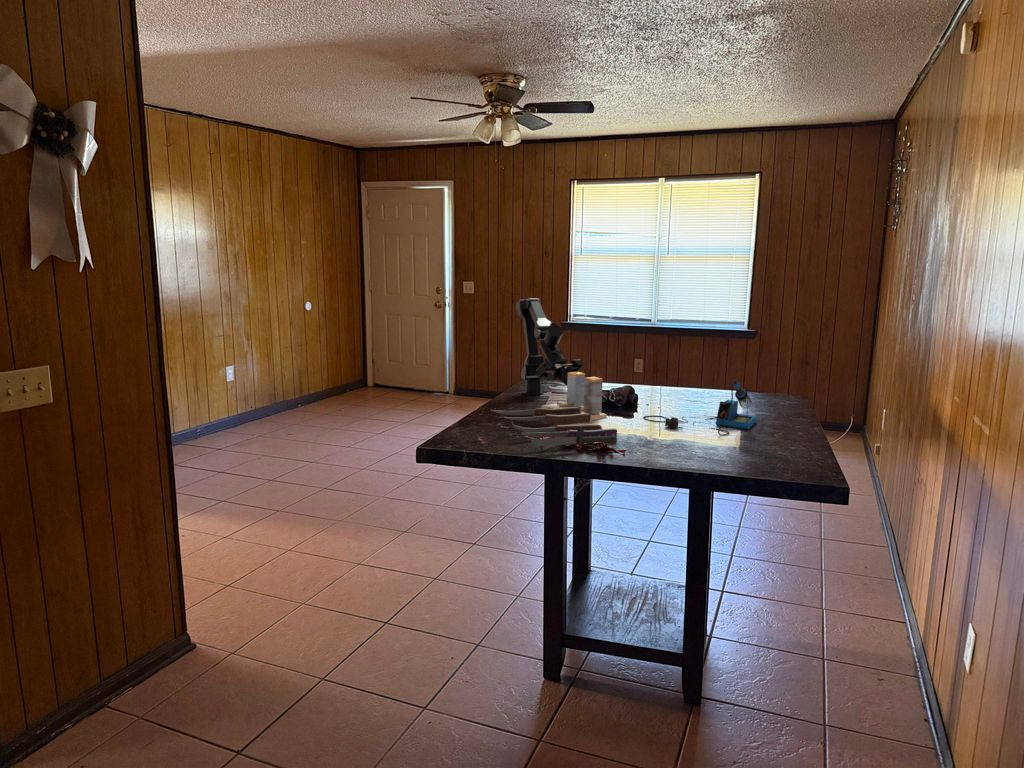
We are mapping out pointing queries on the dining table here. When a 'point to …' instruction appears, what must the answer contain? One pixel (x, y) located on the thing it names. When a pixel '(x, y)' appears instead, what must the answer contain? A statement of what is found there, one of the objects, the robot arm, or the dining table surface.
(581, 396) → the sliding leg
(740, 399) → the soldering iron
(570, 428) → the knife set
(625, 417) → the dining table surface
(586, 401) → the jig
